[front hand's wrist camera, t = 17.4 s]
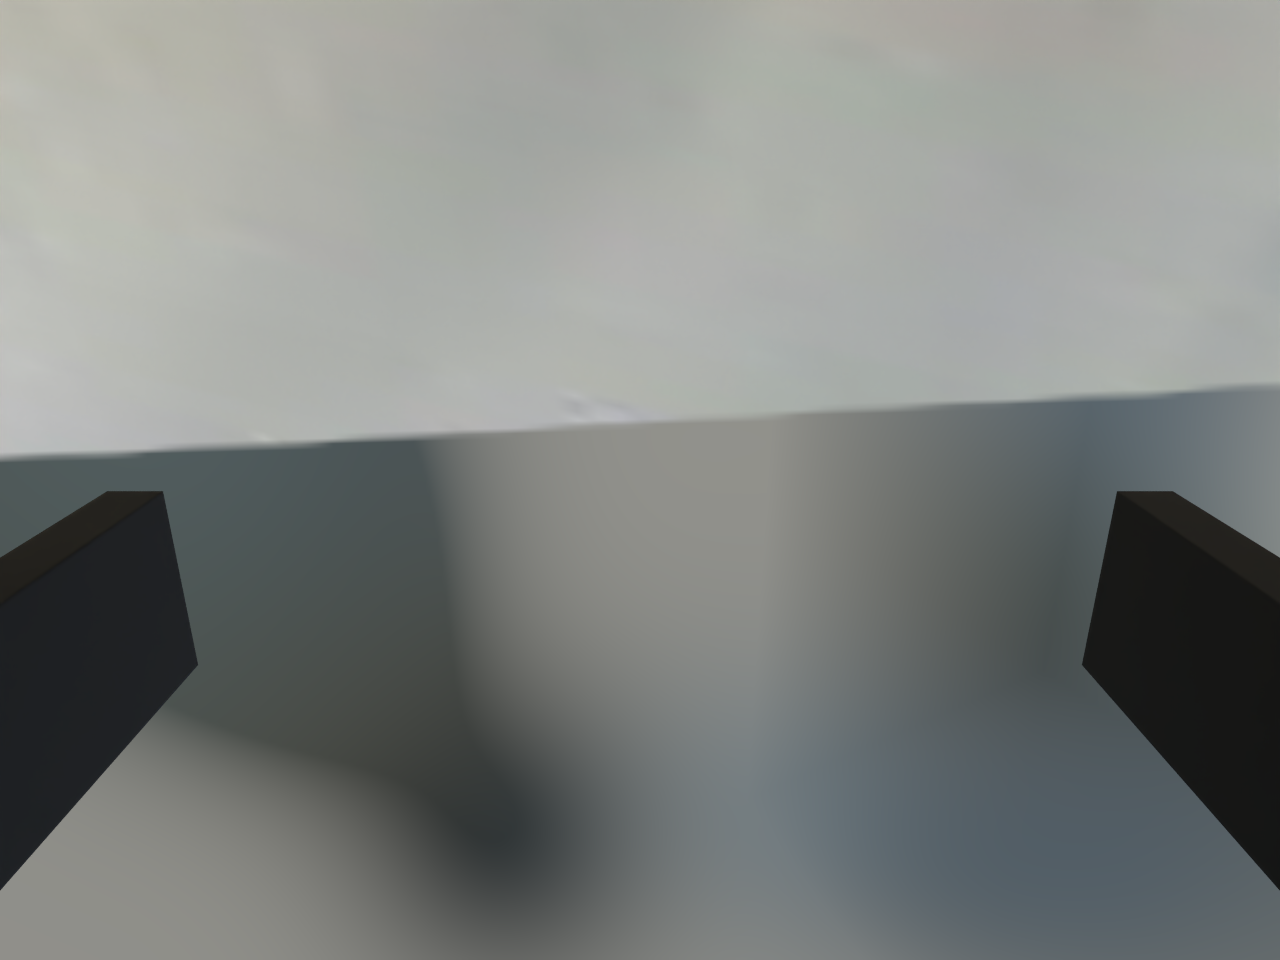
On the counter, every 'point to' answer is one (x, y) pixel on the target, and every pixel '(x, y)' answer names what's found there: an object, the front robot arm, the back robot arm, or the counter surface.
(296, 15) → the counter surface
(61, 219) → the counter surface
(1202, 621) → the front robot arm
